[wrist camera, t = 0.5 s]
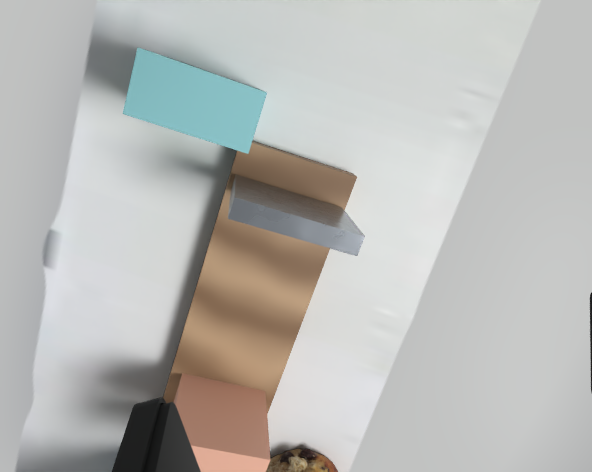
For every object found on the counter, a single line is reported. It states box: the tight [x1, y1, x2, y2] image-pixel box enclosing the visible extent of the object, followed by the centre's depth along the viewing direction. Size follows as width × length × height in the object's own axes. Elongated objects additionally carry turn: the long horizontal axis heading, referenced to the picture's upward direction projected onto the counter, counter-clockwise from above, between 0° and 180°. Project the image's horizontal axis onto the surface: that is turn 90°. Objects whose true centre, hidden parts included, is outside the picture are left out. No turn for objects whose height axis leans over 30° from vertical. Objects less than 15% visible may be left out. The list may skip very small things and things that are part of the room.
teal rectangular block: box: [123, 48, 267, 154], centre depth 32 cm, size 4×8×8 cm, turn 71°
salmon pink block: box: [174, 373, 270, 472], centre depth 40 cm, size 4×8×8 cm, turn 71°
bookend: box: [228, 175, 365, 256], centre depth 34 cm, size 2×9×8 cm, turn 71°
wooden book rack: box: [163, 141, 357, 413], centre depth 38 cm, size 28×10×10 cm, turn 161°
